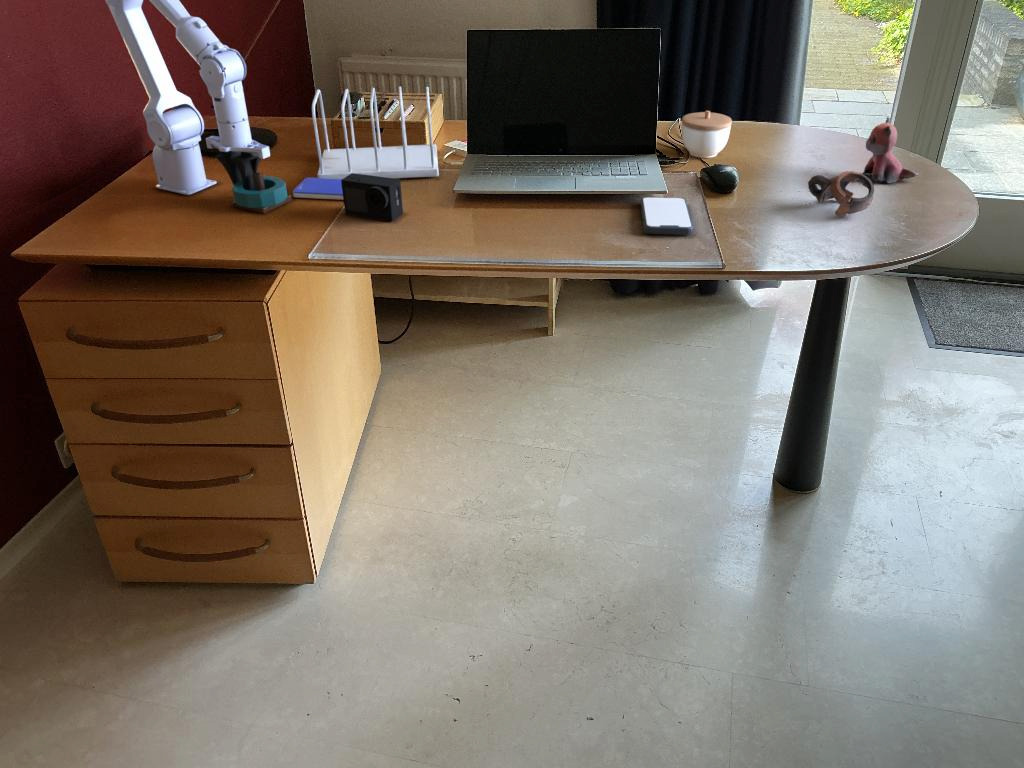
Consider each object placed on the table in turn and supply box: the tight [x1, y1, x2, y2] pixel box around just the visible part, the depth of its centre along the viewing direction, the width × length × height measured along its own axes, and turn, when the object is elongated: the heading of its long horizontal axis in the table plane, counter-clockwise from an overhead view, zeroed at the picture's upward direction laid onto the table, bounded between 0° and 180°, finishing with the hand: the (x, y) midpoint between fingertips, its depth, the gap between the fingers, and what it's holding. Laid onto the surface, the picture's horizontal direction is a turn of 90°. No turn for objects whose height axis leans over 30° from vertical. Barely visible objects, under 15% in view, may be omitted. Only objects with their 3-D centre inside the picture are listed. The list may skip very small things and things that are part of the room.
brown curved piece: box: [807, 170, 875, 219], centre depth 162 cm, size 12×10×8 cm
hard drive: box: [292, 177, 344, 201], centre depth 173 cm, size 2×8×12 cm
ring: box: [231, 175, 288, 208], centre depth 168 cm, size 10×10×3 cm
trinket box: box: [681, 110, 733, 159], centre depth 190 cm, size 11×11×9 cm
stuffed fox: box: [862, 116, 920, 184], centre depth 174 cm, size 8×11×12 cm
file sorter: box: [311, 86, 440, 179], centre depth 182 cm, size 25×17×16 cm
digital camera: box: [341, 173, 404, 222], centre depth 161 cm, size 10×5×7 cm, turn 68°
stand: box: [232, 171, 292, 215], centre depth 167 cm, size 8×8×6 cm
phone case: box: [640, 196, 694, 236], centre depth 160 cm, size 9×2×16 cm
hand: (245, 188), depth 169 cm, fingers closed on ring, 2 cm apart
